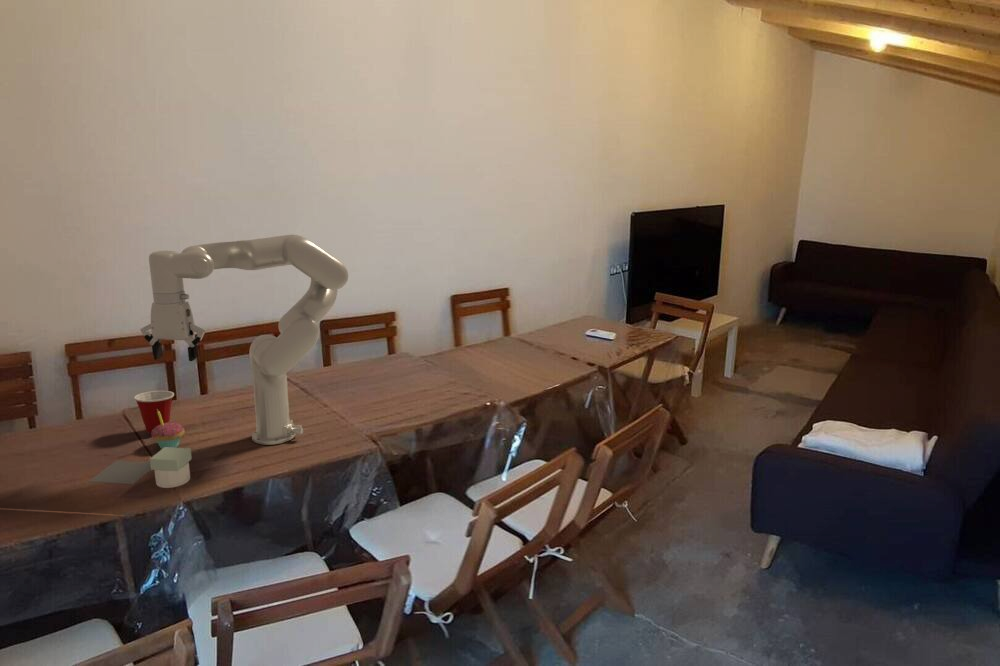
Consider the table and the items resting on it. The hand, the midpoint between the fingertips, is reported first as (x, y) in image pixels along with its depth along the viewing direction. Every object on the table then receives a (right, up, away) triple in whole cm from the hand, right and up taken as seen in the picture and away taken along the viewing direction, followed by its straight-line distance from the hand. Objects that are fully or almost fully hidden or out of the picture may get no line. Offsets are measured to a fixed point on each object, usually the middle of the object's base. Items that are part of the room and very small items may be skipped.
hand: (175, 358), depth 182 cm
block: (+4, -27, -9) cm, 29 cm away
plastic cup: (-16, -23, +22) cm, 36 cm away
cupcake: (-8, -26, +12) cm, 30 cm away
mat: (-11, -30, -4) cm, 33 cm away
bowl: (+3, -32, -8) cm, 33 cm away
